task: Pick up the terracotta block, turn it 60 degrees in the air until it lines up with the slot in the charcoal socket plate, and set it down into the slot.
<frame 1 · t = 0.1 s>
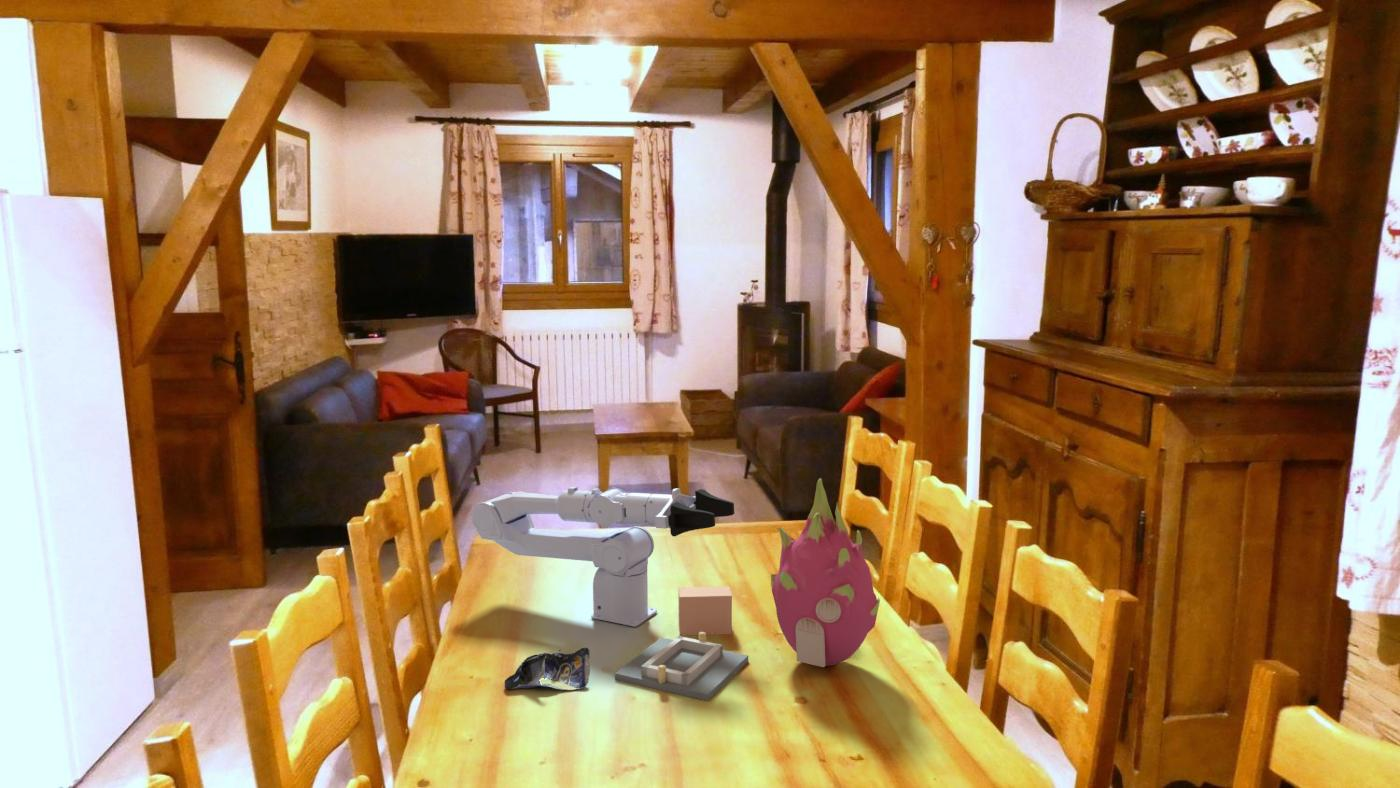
hand: (723, 514, 162), 22 cm above the table, fingers open, 7 cm apart
block: (704, 629, 168), on the table
socket plate: (683, 670, 152), on the table
pink dragon fruit: (822, 664, 155), on the table
snack package: (546, 685, 149), on the table
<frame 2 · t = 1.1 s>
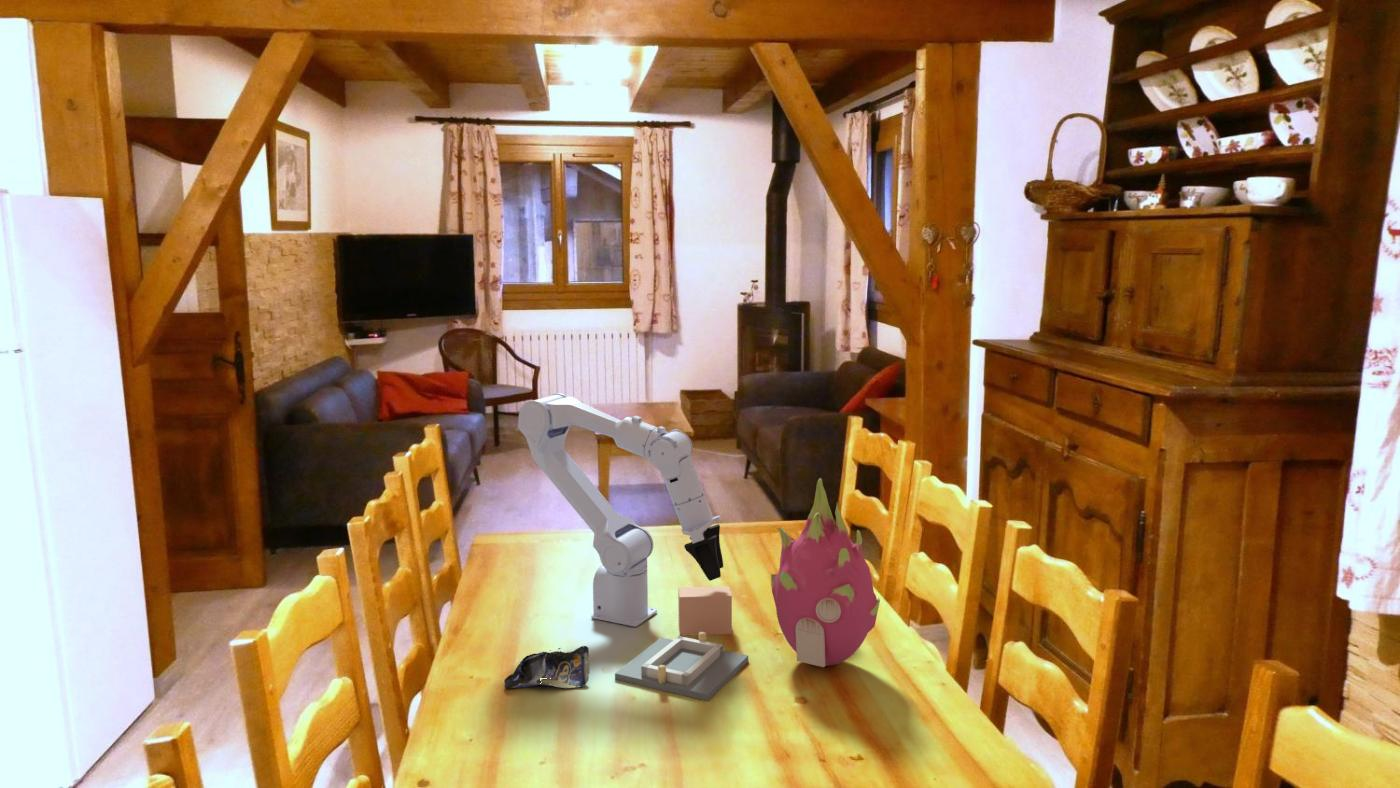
hand: (716, 573, 165), 11 cm above the table, fingers open, 7 cm apart
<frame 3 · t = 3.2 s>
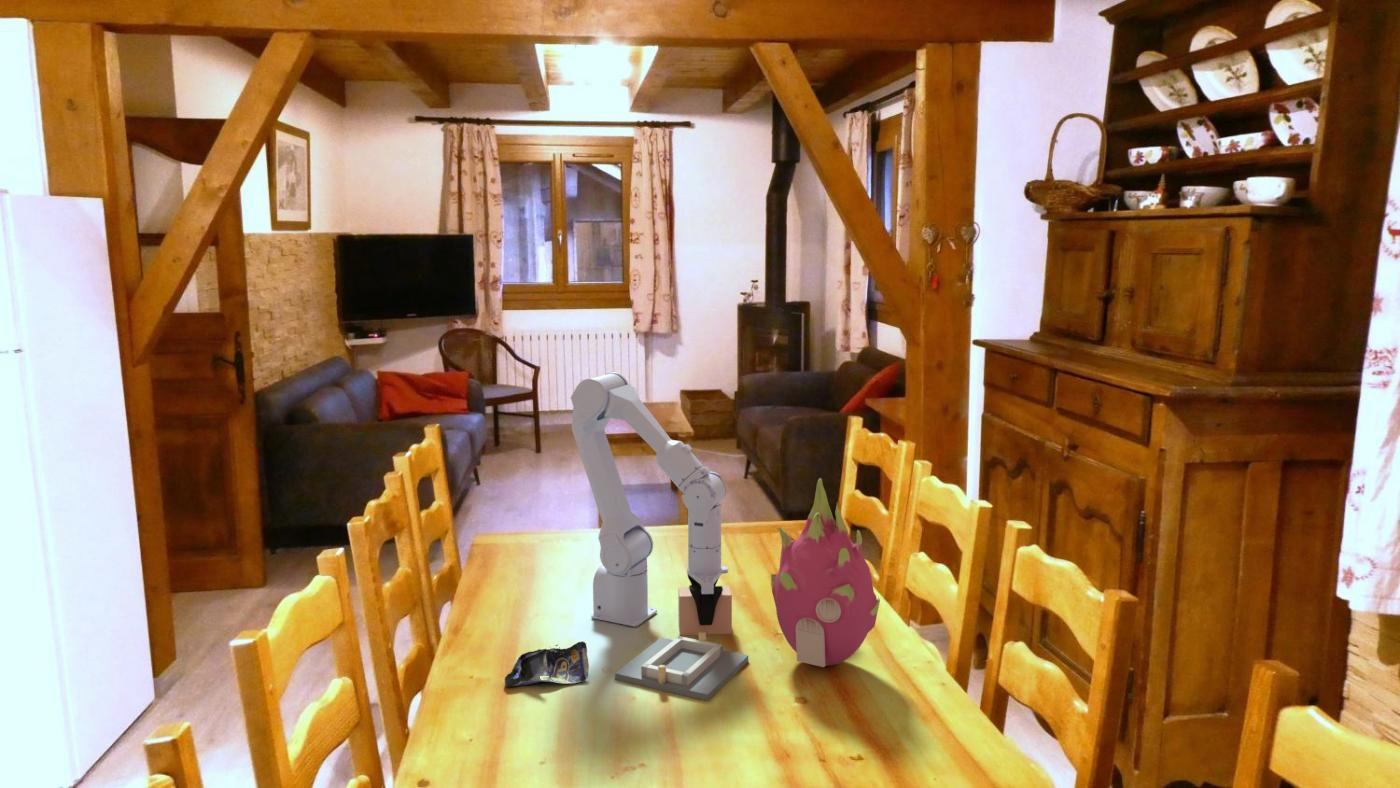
hand: (704, 618, 168), 2 cm above the table, fingers closed on block, 4 cm apart
block: (704, 629, 168), on the table, touching gripper
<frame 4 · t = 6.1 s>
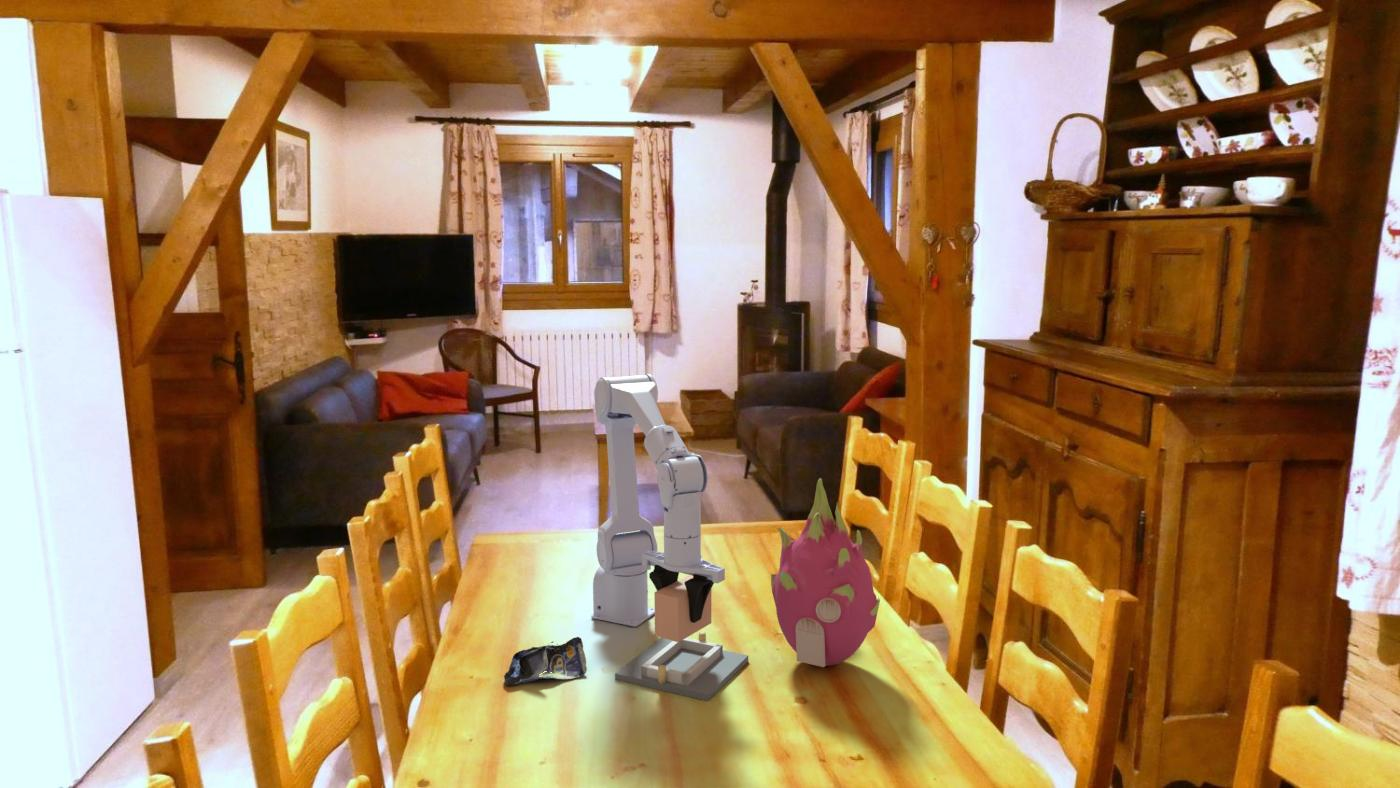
hand: (682, 616, 151), 9 cm above the table, fingers closed on block, 4 cm apart
block: (683, 629, 151), point 7 cm above the table, touching gripper
snack package: (542, 677, 151), on the table
everything else where it was.
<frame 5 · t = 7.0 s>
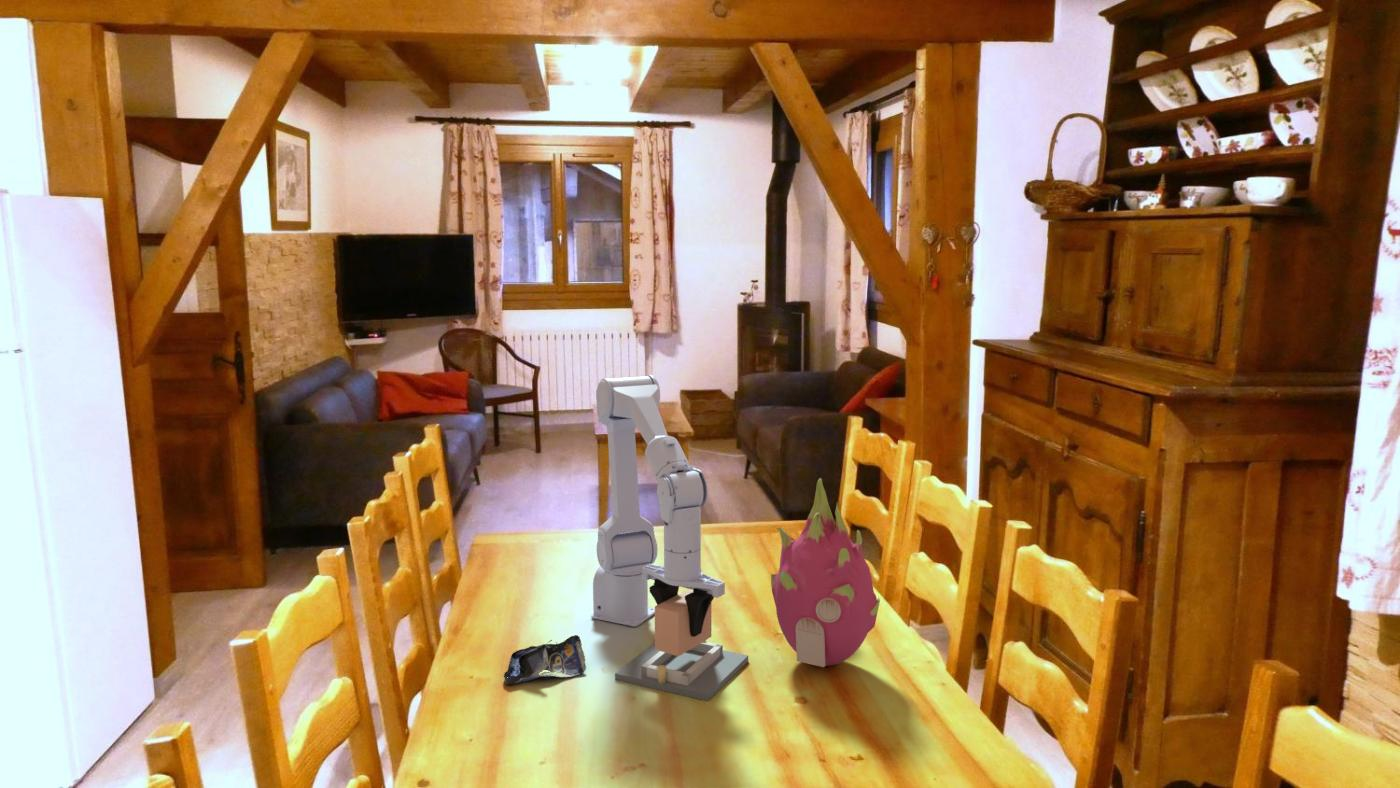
hand: (682, 630, 151), 7 cm above the table, fingers closed on block, 4 cm apart
block: (683, 642, 152), point 4 cm above the table, touching gripper
when the fingers open (4 cm above the table, at t = 8.4 s): block stays where it is, resting on socket plate.
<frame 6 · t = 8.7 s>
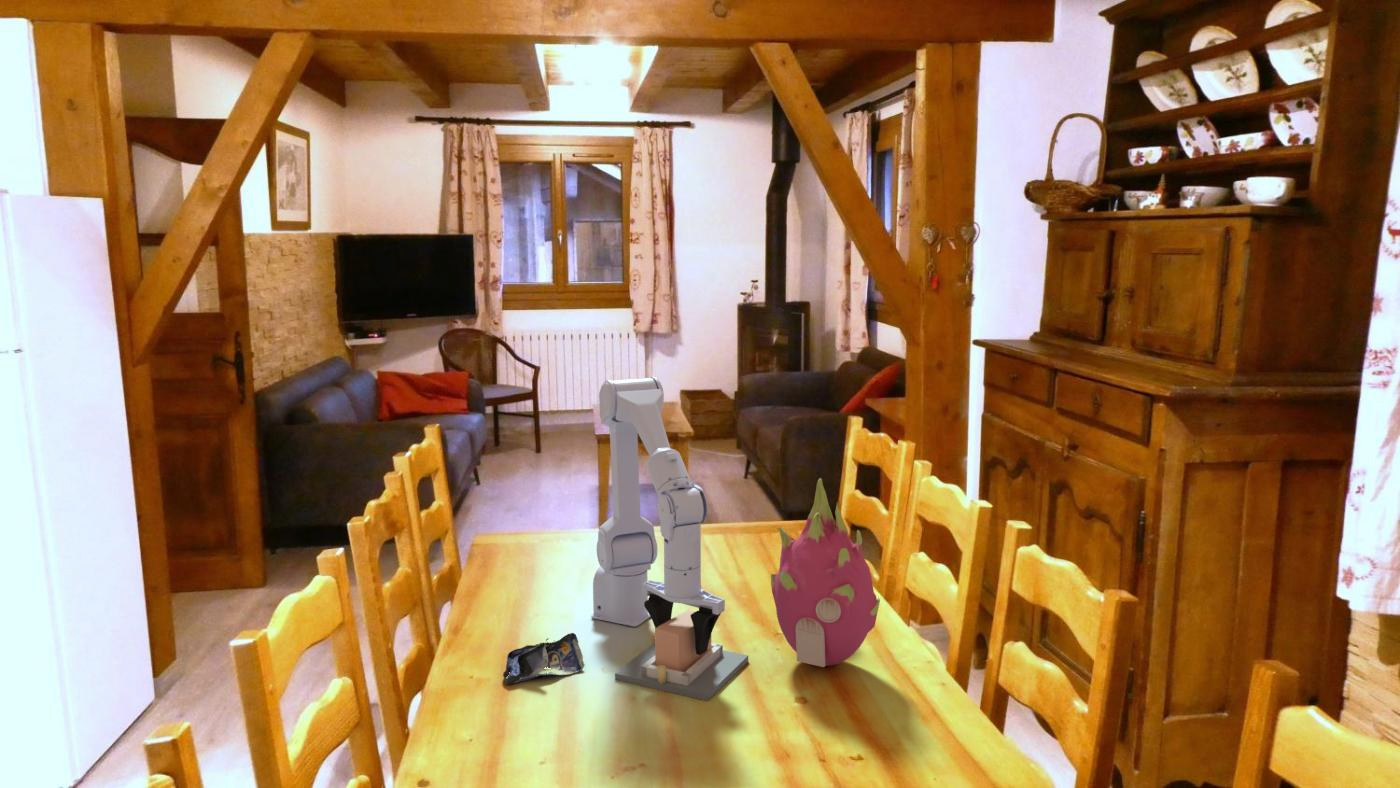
hand: (682, 646, 152), 4 cm above the table, fingers open, 7 cm apart
block: (683, 663, 152), point 1 cm above the table, touching socket plate
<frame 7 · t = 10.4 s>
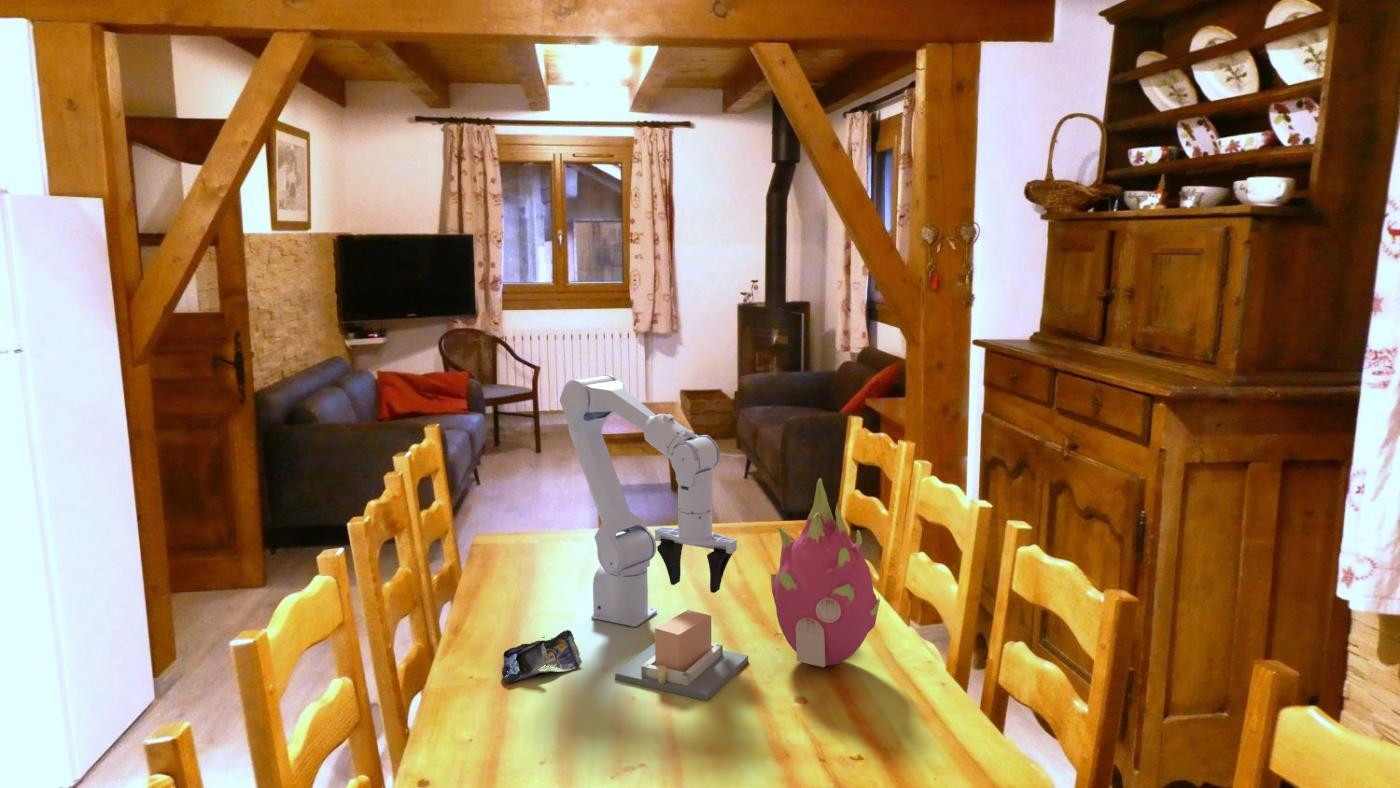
hand: (695, 586, 163), 9 cm above the table, fingers open, 7 cm apart
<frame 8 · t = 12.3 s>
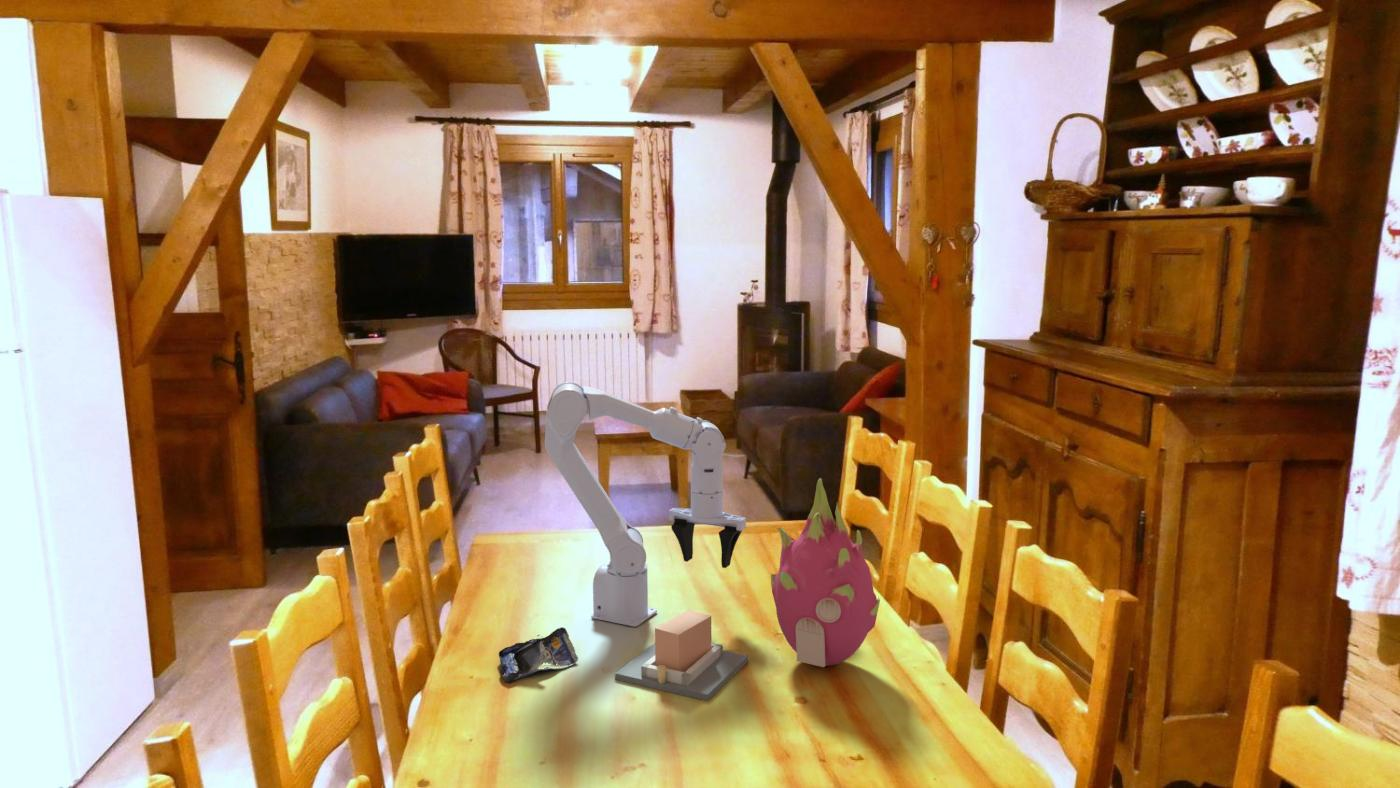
hand: (706, 563, 174), 9 cm above the table, fingers open, 7 cm apart
at the end: block 0.2 cm off-centre on the socket plate, point 1.0 cm above the socket plate's base; block tilted 0°; the gripper is holding nothing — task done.
